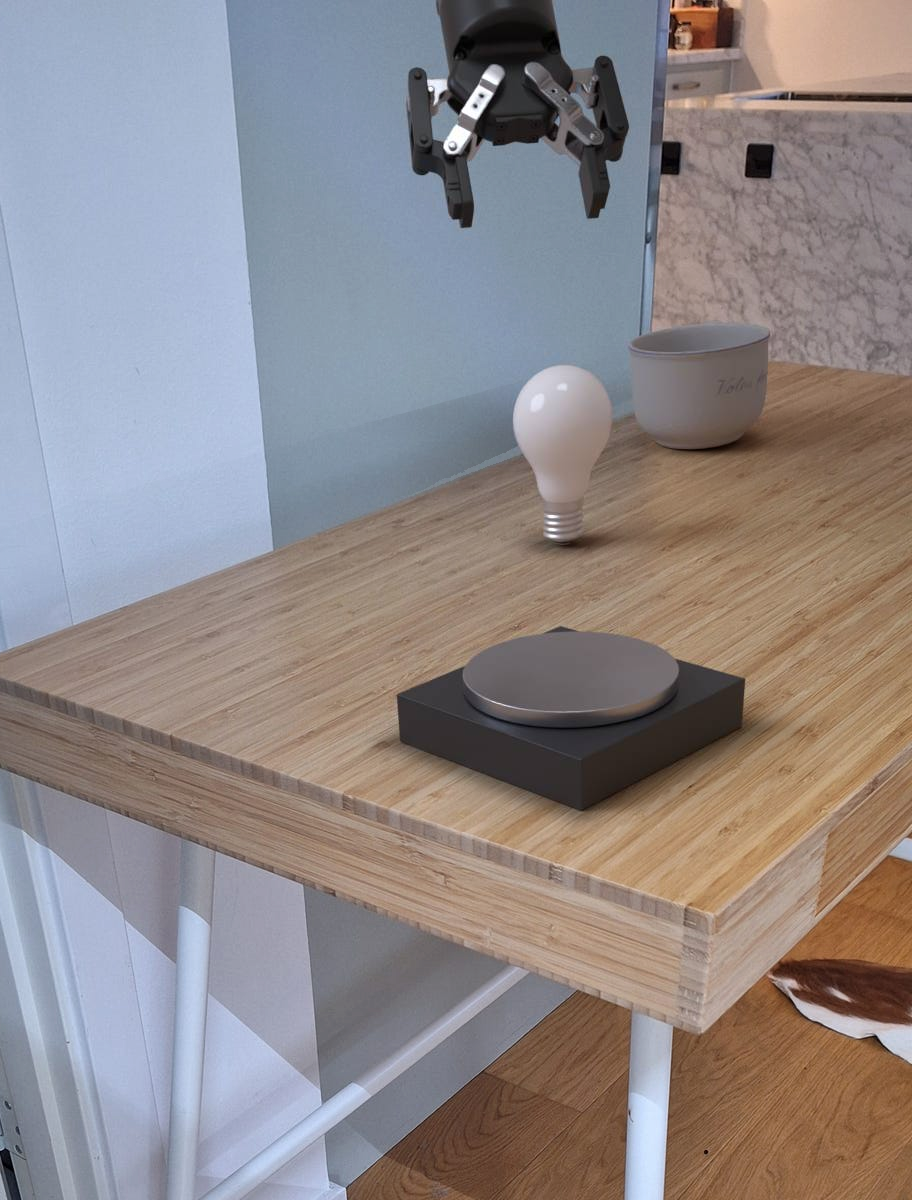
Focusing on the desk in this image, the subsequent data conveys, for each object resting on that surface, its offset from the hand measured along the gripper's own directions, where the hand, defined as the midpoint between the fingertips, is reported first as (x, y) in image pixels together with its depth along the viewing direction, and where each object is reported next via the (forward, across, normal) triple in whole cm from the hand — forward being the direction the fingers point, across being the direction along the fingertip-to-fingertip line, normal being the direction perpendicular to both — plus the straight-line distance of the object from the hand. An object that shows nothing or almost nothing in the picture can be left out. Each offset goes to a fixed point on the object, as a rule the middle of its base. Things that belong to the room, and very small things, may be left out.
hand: (532, 214), depth 96 cm
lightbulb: (+20, 0, +6) cm, 21 cm away
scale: (+42, -7, -16) cm, 45 cm away
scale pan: (+40, -7, -18) cm, 44 cm away
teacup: (+3, +17, +23) cm, 29 cm away
